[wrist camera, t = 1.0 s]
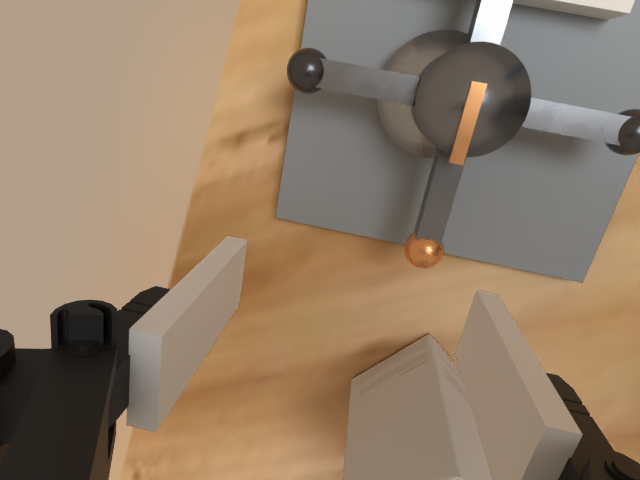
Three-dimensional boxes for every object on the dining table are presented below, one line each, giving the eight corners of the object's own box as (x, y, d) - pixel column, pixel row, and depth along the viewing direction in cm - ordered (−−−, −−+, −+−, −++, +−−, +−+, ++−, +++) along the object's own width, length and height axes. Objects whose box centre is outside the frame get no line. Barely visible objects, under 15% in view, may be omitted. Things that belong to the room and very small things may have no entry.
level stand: (699, -20, 27) (750, -38, 23) (574, 275, 34) (598, 297, 30) (324, -83, 28) (316, -109, 25) (279, 212, 35) (268, 226, 32)
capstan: (691, -58, 25) (794, -107, 19) (556, 275, 32) (597, 318, 26) (327, -117, 26) (312, -181, 20) (277, 216, 33) (255, 244, 27)
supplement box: (347, 378, 40) (330, 534, 26) (429, 330, 37) (461, 475, 23) (404, 444, 41) (418, 626, 27) (487, 403, 39) (550, 580, 25)
